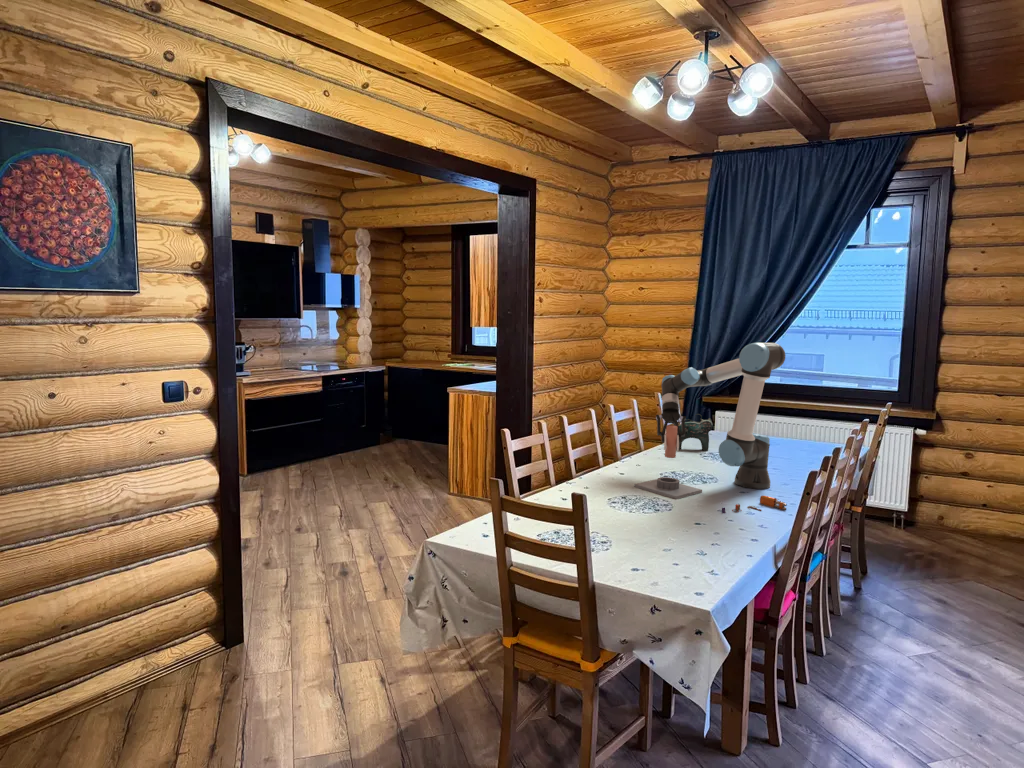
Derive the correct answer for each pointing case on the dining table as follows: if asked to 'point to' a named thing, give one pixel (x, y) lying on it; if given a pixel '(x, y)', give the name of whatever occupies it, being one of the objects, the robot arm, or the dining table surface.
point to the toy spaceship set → (763, 500)
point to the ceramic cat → (697, 432)
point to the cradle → (668, 487)
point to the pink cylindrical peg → (671, 441)
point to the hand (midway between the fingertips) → (671, 448)
